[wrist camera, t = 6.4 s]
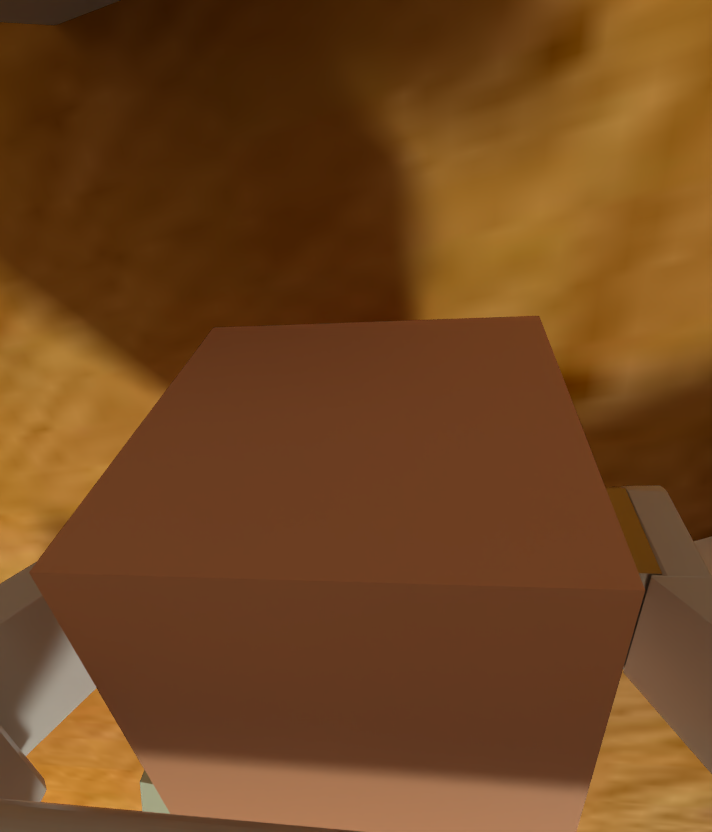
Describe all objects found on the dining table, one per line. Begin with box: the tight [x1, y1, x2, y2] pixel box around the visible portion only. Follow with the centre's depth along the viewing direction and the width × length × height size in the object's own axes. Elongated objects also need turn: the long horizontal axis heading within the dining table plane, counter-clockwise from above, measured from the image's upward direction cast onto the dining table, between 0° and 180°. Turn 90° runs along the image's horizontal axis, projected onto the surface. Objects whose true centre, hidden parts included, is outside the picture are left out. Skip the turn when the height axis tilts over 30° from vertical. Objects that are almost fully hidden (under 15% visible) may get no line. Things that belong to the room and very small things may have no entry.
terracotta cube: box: [29, 316, 645, 832], centre depth 8 cm, size 5×5×5 cm
